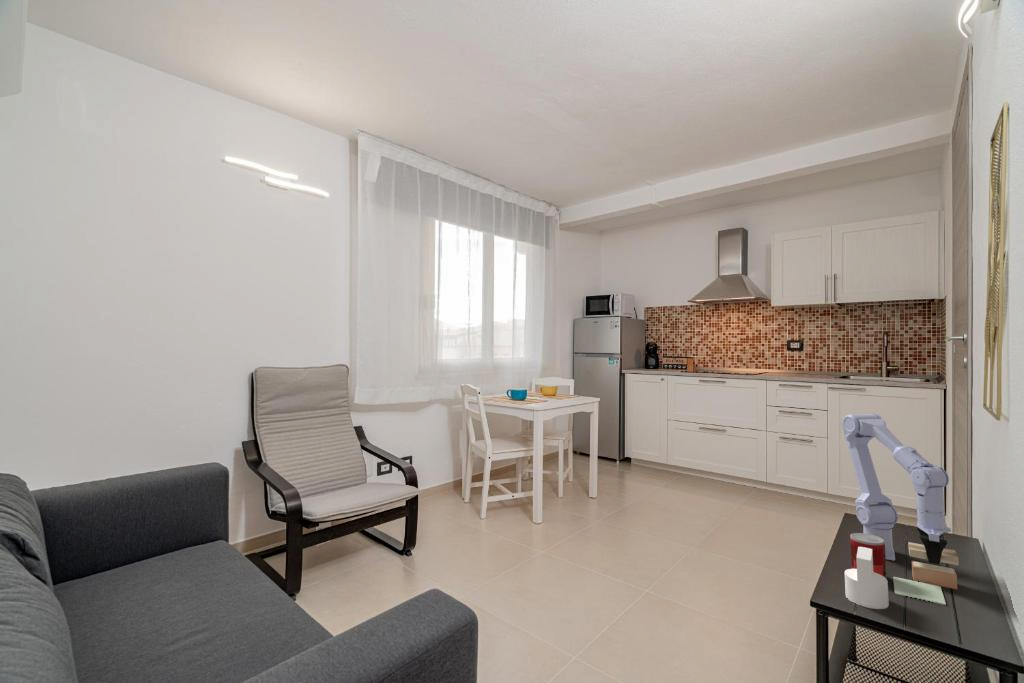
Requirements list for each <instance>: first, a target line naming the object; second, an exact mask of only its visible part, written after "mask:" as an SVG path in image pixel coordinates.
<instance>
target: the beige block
mask: <svg viewBox="0 0 1024 683" xmlns="http://www.w3.org/2000/svg"><path fill="white" fill-rule="evenodd" d="M907 543H908V544H907V546H908V553H909V554H908V555H909V557H912V558H918V559H922V560H928V558H927V554H926V550H925V547H924V544H923V543H922V544H920V543H915V542H909V541H908V542H907ZM940 563H944V564H949V565H955V566H960V562H959V555H958V554H957V552H956V550H955V549H949V548H946V547H944V549H943V551H942V555H941V560H940Z"/></svg>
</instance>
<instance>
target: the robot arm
mask: <svg viewBox="0 0 1024 683" xmlns="http://www.w3.org/2000/svg"><path fill="white" fill-rule="evenodd" d="M840 424H841V427H842V430H843V434H844V439H845V440H846V445H847V449H848V452H849V455H850V458H851V462H852V466H853V469H854V473H855V477H856V480H857V483H858V487H859V490H860V493H861V494H860V496H858V497H857V498H856V499H855V501H854V503H855V515H856V518H857V520H858V521H859V522H860V524H861V525H862V526H863V528H862V530H863V532H862V533H865V534H871V535H875V536H878V537H880V538H882V539H883V540H884V542H885V556H886V560H890V561H894V562H895V561H896V557H895V556H896V555H895V550H894V548H893V546H894V544H893V529H892V528H895V525H896V524H897V523H898V521H899V514H898V511H897V510H896V508H895V507H894V505H893V502H892V499H890V498H889V497H888V496H886V495H885V494H884V493H882V489H881V486H880V483H879V480H878V476H877V473H876V469H875V465H874V463H873V459H872V456H871V453H870V449H869V445H868V444H869V442H870V441H871V440H872V439H874V438H875V439H876V440H877V441H879V443H881V444H882V445H884V446H885V447H886V448H887V449H888V450H890V451H891V452H892V453H893V455H892V456H893V460H894V461H896V462H897V463H898V464H899V465H900V466H901V467H902V468H903V469H904V470H905V471H906V472H907V473H908V474H909V479H910V481H911V483H912V486H913V490H914V491H915V492H914V493H916V511H917V512H916V513H917V514H916V516H917V522H916V530H917V531H918V532H919V535H918V536H919V539H920V541H921V543H922V545H924V547H925V550H926V554H927V558H928V564H932V565H940V564H941V562H940V560H941V555H942V551H943V549H944V548H946V546H947V545H948V540H946V539H942V537H943V535H944V533H951V532H952V529H951V527H948V526H946V522H945V520H946V519H945V503H944V502H945V500H944V497H945V496H944V488H945V487H947V486H948V485H949V482H950V478H949V475H948V473H947V472H946V470H945V469H944V468H943V467H942V466H939V465H934V464H933V463H930V461H928V460H927V459H926V458H924V457H923V455H921V454H920V453H918V450H917V448H915V447H912V446H908V445H907V446H905V445H904V444H903V443H902V442H901V441H900V440H899V438H897V436H896V435H895V434H894V433H892V432H893V431H891V430H889V428H888V427H887V425H886V424H887V423H886V420H884V418H882V416H880V414H877V413H869V414H868V413H867V414H863V413H862V414H846V415H845V416H844V417H843V419H842V421H841V423H840Z"/></svg>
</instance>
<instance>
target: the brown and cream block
mask: <svg viewBox="0 0 1024 683" xmlns="http://www.w3.org/2000/svg"><path fill="white" fill-rule="evenodd" d="M911 574H912V575H911V576H912V579H913V580H912V581H917V582H918V581H919V582H922V583H927V584H931V585H936V586H940V587H944V588H947V589H954V590H958V576H957V572H956V571H955V568H951V567H946V566H941V565H937V564H932V563H924V562H919V561H915V560H911Z"/></svg>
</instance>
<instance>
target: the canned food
mask: <svg viewBox="0 0 1024 683" xmlns="http://www.w3.org/2000/svg"><path fill="white" fill-rule="evenodd" d="M849 543H850V545H849V546H850V565H851V569H857V561H856V557H857V551H858V547H865V548H870V549H872V553H873V572H875V573H877V574H880V575H882V576H883V577H885V578H886V579H887V561H886V560H887V559H886V556H885V542H884V540H883V539H882V538H880V537H878V536H875V535H871V534H865V533H863V532H853V533H851V534H850V535H849Z"/></svg>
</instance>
